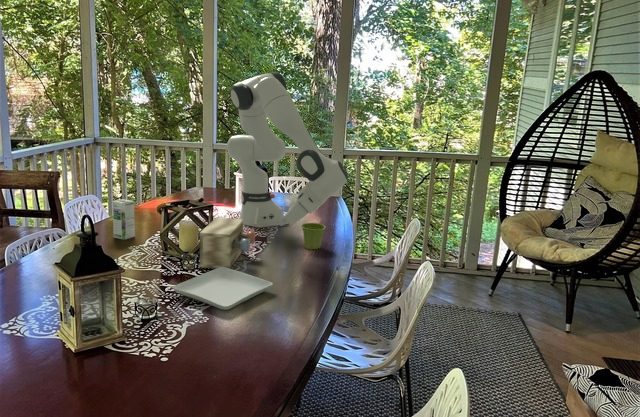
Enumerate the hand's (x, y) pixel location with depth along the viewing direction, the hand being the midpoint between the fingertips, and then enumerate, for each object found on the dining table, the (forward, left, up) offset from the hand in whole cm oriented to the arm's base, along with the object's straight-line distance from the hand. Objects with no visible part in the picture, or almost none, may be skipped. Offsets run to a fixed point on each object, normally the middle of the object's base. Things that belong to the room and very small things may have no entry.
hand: (280, 223), depth 172 cm
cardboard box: (+20, -5, -13) cm, 24 cm away
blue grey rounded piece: (+15, +2, -8) cm, 18 cm away
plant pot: (-16, -9, -13) cm, 23 cm away
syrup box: (+51, -38, -13) cm, 64 cm away
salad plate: (+26, +25, -13) cm, 38 cm away
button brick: (+11, -6, -8) cm, 15 cm away
